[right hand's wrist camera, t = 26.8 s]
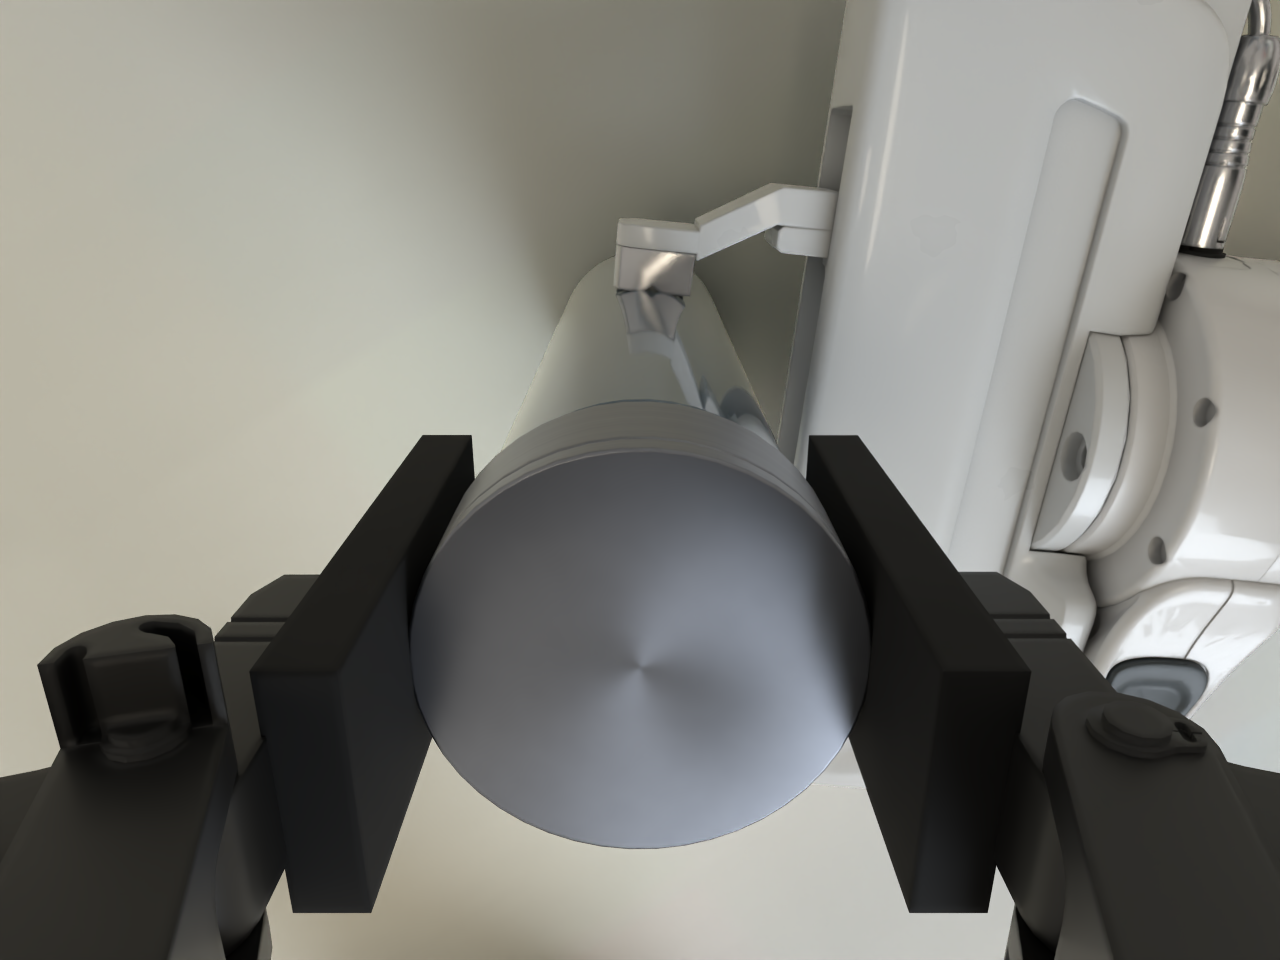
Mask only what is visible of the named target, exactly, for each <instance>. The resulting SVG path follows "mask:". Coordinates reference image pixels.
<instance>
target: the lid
mask: <svg viewBox="0 0 1280 960" xmlns="http://www.w3.org/2000/svg"><path fill="white" fill-rule="evenodd" d="M871 646H872V629H871V621H870V616H869V611H868V607H867V602H866V598H865V595H864V592H863V590H862V587H861V584H860V582H859V579H858V577H857V574H856V571H855V569H854V567H853V565H852V563H851V561H850V560H849V558H848V555H847V553H846V551H845V549H844V547H843V545H842V543H841V541H840V539H839V537H838V535H837V533H836V531H835V529H834V527H833V525H832V523H831V521H830V519H829V517H828V515H827V513H826V511H825V509H824V508H823V506H822V504H821V502H820V501H819V499H818V497H817V495H816V493H815V492H814V490H813V488H812V487H811V486H810V484H809V483H808V482H807V481H806V479H805V478H804V477H803V475H802V474H801V473H800V472H799V470H798V469H797V468H796V467H795V466H794V465H793V464H792V463H791V462H790V461H789V460H788V459H787V458H786V457H785V456H784V455H783V454H782V453H781V452H780V451H779V450H777V449H776V448H775V447H773V446H772V445H771V444H769V443H768V442H766V441H765V440H764V439H762V438H761V437H760V436H758V435H757V434H755V433H753V432H751V431H750V430H748V429H746V428H744V427H742V426H740V425H739V424H737V423H735V422H733V421H731V420H728V419H725V418H723V417H720V416H718V415H715V414H713V413H710V412H707V411H703V410H699V409H695V408H691V407H687V406H683V405H678V404H669V403H661V402H652V401H649V402H618V403H611V404H604V405H597V406H592V407H589V408H585V409H582V410H578V411H574V412H571V413H567V414H565V415H562V416H560V417H558V418H555V419H553V420H551V421H548V422H546V423H543V424H541V425H540V426H538V427H536V428H535V429H533V430H531V431H529V432H528V433H526V434H524V435H523V436H521V437H519V438H518V439H516V440H515V441H514V442H513V443H511V444H510V445H509V446H508V447H506V448H505V449H504V450H502V451H501V452H500V453H499V454H497V455H496V456H495V458H494V459H493V460H492V461H491V462H490V463H489V464H488V465H487V466H486V467H485V468H484V469H483V470H482V471H481V472H480V473H479V474H478V476H477V477H476V479H475V480H474V481H473V483H472V484H471V485H470V487H469V488H468V490H467V491H466V492H465V494H464V496H463V498H462V500H461V501H460V503H459V505H458V507H457V509H456V511H455V513H454V515H453V517H452V519H451V521H450V523H449V525H448V527H447V529H446V531H445V533H444V535H443V537H442V539H441V541H440V543H439V545H438V547H437V549H436V551H435V553H434V555H433V557H432V559H431V561H430V563H429V565H428V567H427V569H426V571H425V573H424V575H423V577H422V580H421V583H420V586H419V589H418V592H417V595H416V597H415V600H414V604H413V609H412V614H411V620H410V625H409V651H410V661H411V670H412V679H413V688H414V693H415V697H416V701H417V704H418V708H419V710H420V712H421V715H422V717H423V719H424V721H425V724H426V726H427V728H428V730H429V732H430V734H431V736H432V737H433V739H434V741H435V742H436V744H437V745H438V747H439V749H440V750H441V752H442V754H443V755H444V756H445V757H446V759H447V760H448V761H449V762H450V763H451V765H452V766H453V767H454V768H455V770H456V771H457V772H458V773H459V774H460V775H461V776H462V777H463V778H464V779H465V780H466V781H467V782H468V783H469V784H470V785H471V786H472V787H473V788H474V789H475V790H476V791H478V792H479V793H480V794H481V795H483V796H484V797H485V798H487V799H488V800H489V801H491V802H492V803H493V804H495V805H496V806H497V807H499V808H500V809H502V810H504V811H505V812H507V813H509V814H511V815H512V816H514V817H516V818H517V819H519V820H521V821H523V822H525V823H527V824H529V825H532V826H534V827H536V828H539V829H541V830H543V831H545V832H548V833H551V834H554V835H557V836H560V837H563V838H567V839H570V840H573V841H577V842H582V843H587V844H592V845H597V846H603V847H614V848H624V849H658V848H667V847H676V846H685V845H689V844H694V843H698V842H703V841H707V840H712V839H714V838H717V837H720V836H723V835H726V834H729V833H732V832H735V831H738V830H740V829H742V828H745V827H747V826H749V825H751V824H753V823H755V822H758V821H760V820H762V819H764V818H765V817H767V816H768V815H770V814H772V813H773V812H775V811H777V810H778V809H780V808H782V807H783V806H785V805H786V804H788V803H789V802H790V801H791V800H793V799H794V798H795V797H796V796H798V795H799V794H800V793H802V792H803V791H804V790H805V789H807V788H808V787H809V786H810V785H811V784H812V783H813V782H814V781H815V780H816V779H817V778H818V777H819V776H820V775H821V774H822V773H823V772H824V771H825V769H826V768H827V767H828V766H829V764H830V763H831V762H832V760H833V759H834V758H835V757H836V755H837V754H838V753H839V751H840V750H841V749H842V747H843V745H844V743H845V742H846V740H847V738H848V736H849V735H850V733H851V731H852V730H853V728H854V726H855V723H856V721H857V718H858V716H859V713H860V711H861V708H862V706H863V703H864V700H865V696H866V692H867V684H868V676H869V666H870V657H871Z"/></svg>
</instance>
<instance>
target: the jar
mask: <svg viewBox="0 0 1280 960" xmlns="http://www.w3.org/2000/svg"><path fill="white" fill-rule="evenodd" d="M614 268H615V256H613V257H611V258H609V259H606V260H604V261H602V262H601V263H599V264H598V265H596V266H595V267H593V268H592V269H591V270H590V271H589V272H587V273H586V275H585V276H584V277H583V278H582V279H581V280H580V281H579V283H578V284H577V286H576V287H575V289H574V290H573V292H572V294H571V296H570V298H569V300H568V303H567V305H566V307H565V309H564V312H563V314H562V316H561V318H560V320H559V323H558V325H557V327H556V329H555V332H554V334H553V336H552V338H551V340H550V343H549V345H548V347H547V349H546V352H545V354H544V356H543V358H542V361H541V363H540V365H539V367H538V369H537V372H536V374H535V376H534V378H533V381H532V383H531V385H530V387H529V389H528V392H527V394H526V396H525V398H524V401H523V403H522V405H521V407H520V409H519V412H518V414H517V416H516V418H515V421H514V423H513V425H512V427H511V430H510V432H509V434H508V436H507V438H506V441H505V443H504V445H503V447H502V450H504V449H505V448H506V447H508V446H509V445H510V444H511V443H513V442H514V441H515V440H516V439H518V438H519V437H521V436H523V435H524V434H526V433H528V432H529V431H531V430H533V429H535V428H536V427H538V426H540V425H541V424H543V423H546V422H548V421H551V420H553V419H555V418H558V417H560V416H562V415H565V414H567V413H571V412H574V411H578V410H582V409H585V408H589V407H592V406H597V405H604V404H611V403H618V402H649V401H652V402H661V403H669V404H678V405H683V406H687V407H691V408H695V409H699V410H703V411H707V412H710V413H713V414H715V415H718V416H720V417H723V418H725V419H728V420H731V421H733V422H735V423H737V424H739V425H740V426H742V427H744V428H746V429H748V430H750V431H751V432H753V433H755V434H757V435H758V436H760V437H761V438H762V439H764V440H765V441H766V442H768V443H769V444H771V445H772V446H773V447H775V448H776V449H777V450H779V451H780V449H779V447H778V444H777V442H776V440H775V438H774V435H773V433H772V431H771V429H770V427H769V424H768V422H767V420H766V418H765V415H764V413H763V411H762V409H761V406H760V404H759V402H758V400H757V398H756V395H755V393H754V391H753V389H752V386H751V384H750V382H749V380H748V378H747V375H746V373H745V371H744V369H743V366H742V364H741V362H740V360H739V357H738V355H737V353H736V351H735V349H734V346H733V344H732V342H731V340H730V337H729V335H728V333H727V331H726V329H725V326H724V324H723V322H722V320H721V317H720V315H719V313H718V311H717V309H716V306H715V304H714V302H713V300H712V297H711V295H710V293H709V292H708V290H707V288H706V286H705V285H704V284H703V282H702V281H701V280H700V278H699V277H698V276H697V275H696V274H695V273H694V272H693V279H692V286H691V294H690V297H689V296H678V295H669V294H665V293H660V292H659V291H657V290H656V289H655V288H654V287H653V286H651V287H649V288H648V289H646V290H644V291H627V290H622V289H617V288H615V287H613V283H614ZM502 450H501V451H502ZM780 452H781V451H780Z"/></svg>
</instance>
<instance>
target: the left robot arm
mask: <svg viewBox="0 0 1280 960" xmlns="http://www.w3.org/2000/svg"><path fill="white" fill-rule="evenodd" d="M1271 15H1272V14H1271V4H1270V0H847V1H846V6H845V12H844V19H843V25H842V31H841V38H840V44H839V50H838V57H837V63H836V69H835V76H834V82H833V88H832V95H831V101H830V107H829V114H828V120H827V126H826V133H825V139H824V145H823V152H822V158H821V164H820V171H819V177H818V183H817V187H809V186H798V185H788V184H777V183H769V184H767V185H765V186H762V187H760V188H758V189H756V190H754V191H752V192H750V193H748V194H746V195H743V196H741V197H739V198H737V199H735V200H733V201H731V202H729V203H727V204H724V205H722V206H720V207H718V208H716V209H714V210H712V211H710V212H708V213H705V214H703V215H701V216H699V217H697V218H695V222H694V224H692V223H681V222H671V221H661V220H651V219H641V218H619V221H618V229H617V240H616V252H615V268H614V283H613V287H615V288H617V289H622V290H627V291H644V290H646V289H648V288H649V287H651V286H653V287H654V288H655V289H656V290H657V291H659V292H660V293H665V294H669V295H678V296H689V297H690V294H691V286H692V279H693V271H694V264H695V259H696V260H697V261H698V260H700V259H702V258H705V257H707V256H709V255H711V254H714V253H716V252H718V251H720V250H723V249H725V248H727V247H729V246H731V245H734V244H736V243H738V242H740V241H743V240H745V239H747V238H749V237H752V236H754V235H756V234H758V233H760V232H763V231H765V233H764V238H765V240H766V241H767V243H769V244H770V245H771V246H772V247H774V248H775V249H776V250H778V251H779V252H780V253H787V254H795V255H804V256H806V259H805V266H804V272H803V278H802V285H801V291H800V297H799V304H798V310H797V316H796V323H795V329H794V335H793V342H792V348H791V354H790V361H789V367H788V373H787V380H786V386H785V392H784V399H783V405H782V411H781V418H780V424H779V430H778V437H777V444H778V447H779V449H780V451H781V453H782V454H783V455H784V456H785V457H786V458H787V459H788V460H789V461H790V462H791V463H792V464H793V465H794V466H795V467H796V468H797V469H798V470H799V472H800V473H801V474H802V475H803V477H804V478H805V479H806V470H807V456H808V442H809V435H858V436H859V437H860V439H861V440H862V441H863V443H864V444H865V445H866V447H867V448H868V450H869V451H870V452H871V454H872V455H873V456H874V458H875V459H876V460H877V462H878V463H879V464H880V466H881V467H882V469H883V470H884V471H885V473H886V474H887V475H888V477H889V478H890V479H891V481H892V482H893V484H894V485H895V486H896V488H897V489H898V490H899V492H900V493H901V494H902V496H903V497H904V498H905V500H906V501H907V503H908V504H909V505H910V507H911V508H912V509H913V511H914V512H915V513H916V515H917V516H918V518H919V519H920V520H921V522H922V523H923V524H924V526H925V527H926V528H927V530H928V531H929V532H930V534H931V535H932V537H933V538H934V539H935V541H936V542H937V543H938V545H939V546H940V547H941V549H942V550H943V552H944V553H945V554H946V556H947V557H948V558H949V560H950V561H951V562H952V564H953V565H954V566H955V568H956V569H957V571H958V572H998V573H1000V574H1001V575H1003V576H1005V577H1007V578H1008V579H1010V580H1012V581H1013V582H1015V583H1017V584H1018V585H1020V586H1022V587H1024V588H1025V589H1027V590H1029V591H1030V592H1031V593H1032V594H1033V595H1034V596H1035V598H1036V599H1037V600H1038V601H1039V602H1040V603H1041V604H1042V606H1043V607H1044V608H1045V609H1046V610H1047V611H1048V613H1049V614H1050V619H1054V620H1055V621H1056V622H1057V623H1058V624H1059V625H1060V627H1061V628H1062V629H1063V630H1064V631H1065V632H1066V633H1067V635H1066V636H1067V639H1072V640H1073V642H1074V643H1075V644H1076V645H1077V646H1078V647H1079V649H1080V650H1081V651H1082V652H1083V653H1084V654H1085V655H1086V657H1087V658H1088V659H1089V660H1090V661H1091V662H1092V664H1093V665H1094V666H1095V667H1096V668H1097V669H1098V671H1099V672H1100V673H1101V674H1102V675H1103V676H1104V678H1105V679H1106V680H1107V681H1108V682H1109V683H1110V684H1111V686H1112V687H1113V688H1114V689H1115V690H1116V691H1117V692H1118V693H1122V694H1127V695H1131V696H1135V697H1140V698H1144V699H1148V700H1151V701H1153V702H1156V703H1158V704H1160V705H1163V706H1165V707H1167V708H1170V709H1172V710H1175V711H1177V712H1179V713H1181V714H1182V715H1184V716H1185V717H1187V718H1188V719H1190V718H1191V717H1192V716H1193V715H1194V714H1195V712H1196V711H1197V710H1198V709H1199V708H1200V707H1201V705H1202V704H1203V703H1204V702H1205V701H1206V700H1207V698H1208V697H1209V696H1210V695H1211V694H1212V693H1213V692H1214V691H1215V690H1216V689H1217V688H1218V686H1219V685H1220V684H1221V683H1222V682H1223V681H1224V680H1225V679H1226V678H1227V677H1228V676H1229V675H1230V674H1231V673H1232V672H1233V671H1234V670H1235V669H1236V668H1237V667H1238V666H1239V665H1240V664H1241V663H1242V662H1243V661H1244V660H1245V659H1246V658H1247V657H1248V656H1249V655H1251V654H1252V653H1253V652H1254V651H1255V650H1256V649H1257V648H1258V647H1259V646H1261V645H1262V644H1263V643H1264V642H1265V641H1266V640H1267V639H1268V638H1270V637H1271V636H1272V635H1273V634H1274V633H1275V632H1276V631H1277V630H1278V628H1279V627H1280V261H1276V260H1266V259H1256V258H1246V257H1236V256H1229V255H1226V254H1225V253H1222V252H1223V248H1224V245H1225V242H1226V239H1227V236H1228V233H1229V230H1230V227H1231V223H1232V220H1233V217H1234V214H1235V211H1236V208H1237V205H1238V201H1239V198H1240V195H1241V192H1242V189H1243V185H1244V181H1245V177H1246V173H1247V169H1245V167H1246V166H1248V162H1249V156H1248V153H1250V151H1251V147H1252V143H1251V140H1253V138H1254V134H1255V131H1256V130H1255V129H1254V128H1255V127H1256V126H1257V124H1258V121H1259V119H1260V116H1261V113H1262V110H1263V107H1264V106H1265V105H1268V103H1269V101H1270V98H1271V96H1272V94H1273V91H1274V88H1275V86H1276V83H1277V79H1278V76H1279V72H1280V37H1278V36H1270V31H1271ZM1247 16H1248V35H1242V32H1243V29H1244V26H1245V22H1246V19H1247ZM812 784H813V785H821V786H833V787H845V788H860V789H866V787H865V784H864V781H863V778H862V775H861V772H860V769H859V766H858V764H857V761H856V758H855V755H854V752H853V749H852V746H851V743H850V741H849V738H847V740H846V742H845V743H844V745H843V747H842V749H841V750H840V751H839V753H838V754H837V755H836V757H835V758H834V759H833V760H832V762H831V763H830V764H829V766H828V767H827V768H826V769H825V771H824V772H823V773H822V774H821V775H820V776H819V777H818V778H817V779H816V780H815V781H814V782H813V783H812Z"/></svg>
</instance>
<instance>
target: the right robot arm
mask: <svg viewBox="0 0 1280 960" xmlns="http://www.w3.org/2000/svg"><path fill="white" fill-rule="evenodd" d="M474 480H475V476H474V462H473V448H472V435H422V437H421V438H420V439H419V441H418V442H417V443H416V445H415V446H414V448H413V449H412V450H411V452H410V453H409V454H408V456H407V457H406V458H405V460H404V461H403V463H402V464H401V465H400V467H399V468H398V469H397V471H396V472H395V473H394V475H393V476H392V478H391V479H390V480H389V482H388V483H387V484H386V486H385V487H384V488H383V490H382V491H381V492H380V494H379V495H378V497H377V498H376V499H375V501H374V502H373V503H372V505H371V506H370V507H369V509H368V510H367V512H366V513H365V514H364V516H363V517H362V518H361V520H360V521H359V522H358V524H357V525H356V527H355V528H354V529H353V531H352V532H351V533H350V535H349V536H348V537H347V539H346V540H345V541H344V543H343V544H342V546H341V547H340V548H339V550H338V551H337V552H336V554H335V555H334V556H333V558H332V559H331V561H330V562H329V563H328V565H327V566H326V567H325V569H324V570H323V571H322V573H321V574H320V575H283V576H281V577H280V578H278V579H276V580H275V581H273V582H271V583H269V584H268V585H266V586H264V587H263V588H261V589H259V590H258V591H256V592H254V593H253V594H251V595H250V596H249V597H248V598H247V600H246V601H245V602H244V603H243V604H242V605H241V607H240V608H239V609H238V610H237V611H236V613H235V614H234V615H233V616H232V617H231V622H227V623H226V624H225V625H224V627H223V628H222V629H221V630H220V631H219V632H218V634H217V635H216V636H215V641H214V640H213V635H212V630H211V628H210V627H208V626H207V625H205V624H204V623H203V622H201V621H200V620H199V619H195V618H190V617H185V616H180V615H175V614H174V615H145V616H140V617H135V618H130V619H125V620H120V621H115V622H111V623H108V624H106V625H103V626H100V627H97V628H94V629H91V630H89V631H86V632H83V633H80V634H79V635H77V636H75V637H73V638H72V639H70V640H68V641H66V642H64V643H63V644H61V645H59V646H57V647H56V648H54V649H53V650H52V651H51V652H50V653H49V654H48V655H47V656H46V657H45V658H44V659H43V660H42V661H41V662H40V663H39V664H38V665H37V666H38V670H39V673H40V677H41V680H42V684H43V688H44V691H45V695H46V698H47V702H48V705H49V709H50V713H51V716H52V720H53V723H54V727H55V730H56V734H57V738H58V741H59V745H60V748H61V749H60V751H59V753H58V755H57V757H56V758H55V760H54V762H53V764H52V766H51V767H48V768H45V769H41V770H37V771H31V772H26V773H21V774H16V775H11V776H6V777H1V778H0V960H271V953H272V941H271V933H270V926H269V921H268V916H267V911H266V906H267V904H268V902H269V900H270V898H271V896H272V894H273V892H274V890H275V888H276V886H277V884H278V882H279V879H280V877H281V875H282V873H283V871H284V869H285V872H286V877H287V883H288V888H289V894H290V899H291V905H292V910H293V913H371V912H372V909H373V906H374V903H375V900H376V898H377V895H378V892H379V889H380V886H381V883H382V880H383V877H384V875H385V872H386V869H387V866H388V863H389V860H390V857H391V854H392V852H393V849H394V846H395V843H396V840H397V837H398V834H399V831H400V828H401V826H402V823H403V820H404V817H405V814H406V811H407V808H408V805H409V803H410V800H411V797H412V794H413V791H414V788H415V785H416V782H417V780H418V777H419V774H420V771H421V768H422V765H423V762H424V759H425V757H426V754H427V751H428V748H429V745H430V742H431V739H432V736H431V734H430V732H429V730H428V728H427V726H426V724H425V721H424V719H423V717H422V715H421V712H420V710H419V708H418V704H417V701H416V697H415V693H414V688H413V679H412V670H411V661H410V651H409V625H410V620H411V614H412V609H413V604H414V600H415V597H416V595H417V592H418V589H419V586H420V583H421V580H422V577H423V575H424V573H425V571H426V569H427V567H428V565H429V563H430V561H431V559H432V557H433V555H434V553H435V551H436V549H437V547H438V545H439V543H440V541H441V539H442V537H443V535H444V533H445V531H446V529H447V527H448V525H449V523H450V521H451V519H452V517H453V515H454V513H455V511H456V509H457V507H458V505H459V503H460V501H461V500H462V498H463V496H464V494H465V492H466V491H467V490H468V488H469V487H470V485H471V484H472V483H473V481H474ZM806 481H807V482H808V483H809V484H810V486H811V487H812V488H813V490H814V492H815V493H816V495H817V497H818V499H819V501H820V502H821V504H822V506H823V508H824V509H825V511H826V513H827V515H828V517H829V519H830V521H831V523H832V525H833V527H834V529H835V531H836V533H837V535H838V537H839V539H840V541H841V543H842V545H843V547H844V549H845V551H846V553H847V555H848V558H849V560H850V561H851V563H852V565H853V567H854V569H855V571H856V574H857V577H858V579H859V582H860V584H861V587H862V590H863V592H864V595H865V598H866V602H867V607H868V611H869V616H870V621H871V629H872V646H871V657H870V666H869V676H868V684H867V692H866V696H865V700H864V703H863V706H862V708H861V711H860V713H859V716H858V718H857V721H856V723H855V726H854V728H853V730H852V731H851V733H850V735H849V736H848V738H849V741H850V743H851V746H852V749H853V752H854V755H855V758H856V761H857V764H858V766H859V769H860V772H861V775H862V778H863V781H864V784H865V787H866V789H867V792H868V795H869V798H870V801H871V804H872V807H873V810H874V812H875V815H876V818H877V821H878V824H879V827H880V830H881V833H882V835H883V838H884V841H885V844H886V847H887V850H888V853H889V856H890V859H891V861H892V864H893V867H894V870H895V873H896V876H897V879H898V882H899V884H900V887H901V890H902V893H903V896H904V899H905V902H906V905H907V907H908V910H909V913H988V908H989V902H990V897H991V891H992V886H993V881H994V875H995V870H996V865H997V867H998V869H999V872H1000V874H1001V876H1002V878H1003V880H1004V882H1005V884H1006V886H1007V888H1008V890H1009V892H1010V894H1011V896H1012V898H1013V900H1014V902H1015V906H1014V911H1013V916H1012V921H1011V926H1010V932H1009V937H1008V942H1007V947H1006V952H1005V957H1004V960H1280V773H1276V772H1270V771H1265V770H1260V769H1255V768H1250V767H1245V766H1241V765H1237V764H1233V763H1229V762H1227V761H1226V759H1225V757H1224V755H1223V753H1222V751H1221V749H1220V747H1219V746H1218V745H1217V744H1216V743H1215V741H1214V740H1213V739H1212V738H1211V737H1210V736H1209V734H1208V733H1207V732H1206V731H1205V730H1204V729H1203V728H1202V727H1200V726H1199V725H1197V724H1196V723H1194V722H1193V721H1191V720H1190V719H1188V718H1187V717H1185V716H1184V715H1182V714H1181V713H1179V712H1177V711H1175V710H1172V709H1170V708H1167V707H1165V706H1163V705H1160V704H1158V703H1156V702H1153V701H1151V700H1148V699H1144V698H1140V697H1135V696H1131V695H1127V694H1122V693H1118V692H1117V691H1116V690H1115V689H1114V688H1113V687H1112V686H1111V684H1110V683H1109V682H1108V681H1107V680H1106V679H1105V678H1104V676H1103V675H1102V674H1101V673H1100V672H1099V671H1098V669H1097V668H1096V667H1095V666H1094V665H1093V664H1092V662H1091V661H1090V660H1089V659H1088V658H1087V657H1086V655H1085V654H1084V653H1083V652H1082V651H1081V650H1080V649H1079V647H1078V646H1077V645H1076V644H1075V643H1074V642H1073V640H1072V639H1067V636H1066V635H1067V633H1066V632H1065V631H1064V630H1063V629H1062V628H1061V627H1060V625H1059V624H1058V623H1057V622H1056V621H1055V620H1054V619H1050V614H1049V613H1048V611H1047V610H1046V609H1045V608H1044V607H1043V606H1042V604H1041V603H1040V602H1039V601H1038V600H1037V599H1036V598H1035V596H1034V595H1033V594H1032V593H1031V592H1030V591H1029V590H1027V589H1025V588H1024V587H1022V586H1020V585H1018V584H1017V583H1015V582H1013V581H1012V580H1010V579H1008V578H1007V577H1005V576H1003V575H1001V574H1000V573H998V572H958V571H957V569H956V568H955V566H954V565H953V564H952V562H951V561H950V560H949V558H948V557H947V556H946V554H945V553H944V552H943V550H942V549H941V547H940V546H939V545H938V543H937V542H936V541H935V539H934V538H933V537H932V535H931V534H930V532H929V531H928V530H927V528H926V527H925V526H924V524H923V523H922V522H921V520H920V519H919V518H918V516H917V515H916V513H915V512H914V511H913V509H912V508H911V507H910V505H909V504H908V503H907V501H906V500H905V498H904V497H903V496H902V494H901V493H900V492H899V490H898V489H897V488H896V486H895V485H894V484H893V482H892V481H891V479H890V478H889V477H888V475H887V474H886V473H885V471H884V470H883V469H882V467H881V466H880V464H879V463H878V462H877V460H876V459H875V458H874V456H873V455H872V454H871V452H870V451H869V450H868V448H867V447H866V445H865V444H864V443H863V441H862V440H861V439H860V437H859V436H858V435H809V442H808V456H807V470H806Z"/></svg>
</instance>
